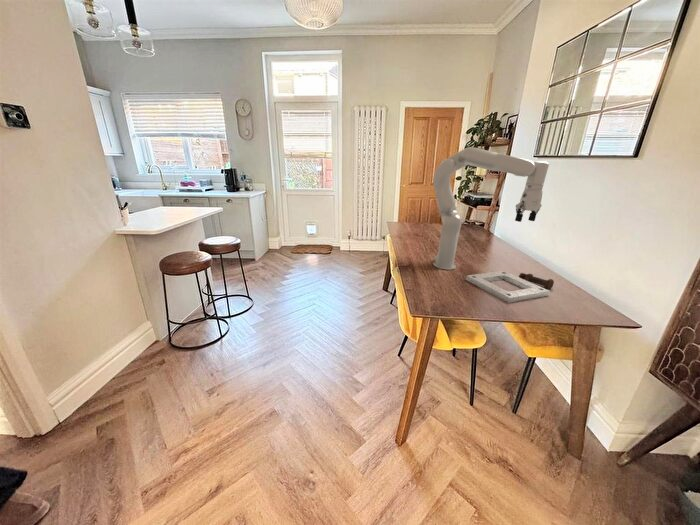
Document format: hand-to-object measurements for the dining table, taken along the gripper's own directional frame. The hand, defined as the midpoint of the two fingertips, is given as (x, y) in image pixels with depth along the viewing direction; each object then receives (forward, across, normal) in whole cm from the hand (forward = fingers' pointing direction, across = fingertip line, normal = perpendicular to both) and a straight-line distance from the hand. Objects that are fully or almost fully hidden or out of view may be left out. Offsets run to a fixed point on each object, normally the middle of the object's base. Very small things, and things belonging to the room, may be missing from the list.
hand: (524, 220), depth 143 cm
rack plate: (+30, -19, -13) cm, 38 cm away
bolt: (+31, +1, -14) cm, 34 cm away
